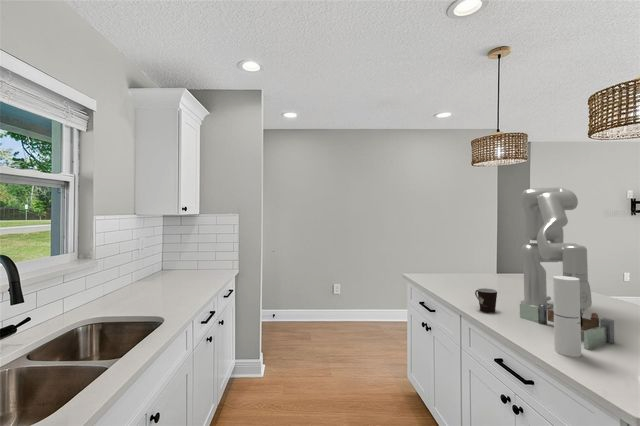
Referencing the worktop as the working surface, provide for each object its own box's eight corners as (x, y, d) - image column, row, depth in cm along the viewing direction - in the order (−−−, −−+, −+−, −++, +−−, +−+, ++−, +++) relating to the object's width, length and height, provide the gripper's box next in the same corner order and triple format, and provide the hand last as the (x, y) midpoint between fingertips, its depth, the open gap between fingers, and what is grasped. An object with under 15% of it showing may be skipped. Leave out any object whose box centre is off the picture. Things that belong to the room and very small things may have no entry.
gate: (547, 324, 135) (546, 302, 135) (550, 323, 135) (549, 302, 136) (596, 338, 119) (596, 314, 119) (599, 337, 120) (599, 313, 120)
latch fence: (604, 339, 119) (604, 318, 119) (614, 342, 116) (613, 320, 116) (581, 347, 112) (581, 324, 112) (591, 350, 110) (590, 326, 110)
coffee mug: (500, 314, 151) (499, 292, 151) (480, 313, 152) (480, 292, 152) (492, 307, 162) (491, 287, 162) (473, 306, 164) (473, 286, 164)
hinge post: (522, 316, 146) (522, 299, 146) (548, 324, 136) (548, 305, 136) (518, 317, 145) (518, 299, 145) (544, 325, 135) (544, 305, 135)
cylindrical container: (549, 348, 112) (547, 276, 112) (568, 347, 113) (566, 275, 113) (566, 357, 105) (565, 280, 105) (587, 356, 106) (585, 279, 106)
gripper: (572, 280, 118) (573, 331, 117) (599, 277, 122) (600, 326, 122) (551, 277, 125) (552, 325, 124) (578, 274, 130) (579, 320, 129)
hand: (576, 325), depth 123 cm, fingers closed
